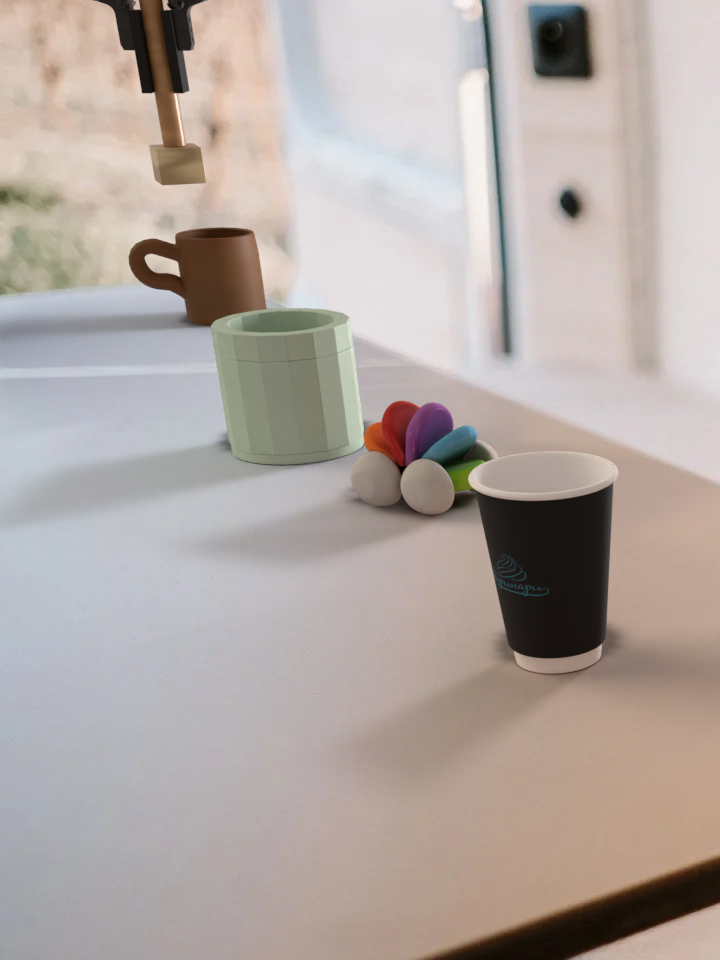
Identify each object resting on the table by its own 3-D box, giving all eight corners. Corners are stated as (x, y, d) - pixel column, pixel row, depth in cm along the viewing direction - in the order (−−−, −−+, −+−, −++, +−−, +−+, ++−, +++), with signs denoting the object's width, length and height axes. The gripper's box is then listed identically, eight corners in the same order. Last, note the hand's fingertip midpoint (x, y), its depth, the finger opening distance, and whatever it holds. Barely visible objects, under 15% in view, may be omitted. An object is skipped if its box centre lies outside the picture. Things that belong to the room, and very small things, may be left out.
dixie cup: (474, 686, 88) (454, 494, 83) (500, 629, 95) (482, 450, 91) (621, 684, 88) (609, 494, 84) (636, 628, 96) (625, 450, 91)
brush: (162, 185, 138) (127, -16, 132) (154, 180, 141) (120, -17, 134) (207, 183, 140) (175, -16, 133) (199, 178, 142) (167, -17, 136)
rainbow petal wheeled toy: (413, 474, 122) (402, 380, 119) (521, 491, 119) (513, 395, 116) (336, 507, 114) (322, 407, 112) (449, 526, 111) (438, 424, 109)
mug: (144, 340, 159) (126, 243, 155) (138, 325, 165) (121, 231, 161) (273, 330, 164) (260, 236, 160) (263, 315, 170) (250, 225, 167)
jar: (221, 467, 122) (199, 337, 118) (243, 432, 131) (224, 309, 127) (357, 462, 124) (340, 333, 120) (370, 427, 133) (355, 306, 129)
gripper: (-4, -229, 123) (59, 95, 132) (205, -220, 126) (251, 95, 136) (24, -220, 130) (82, 88, 139) (222, -212, 133) (265, 88, 142)
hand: (165, 91), depth 137 cm, fingers closed on brush, 2 cm apart
